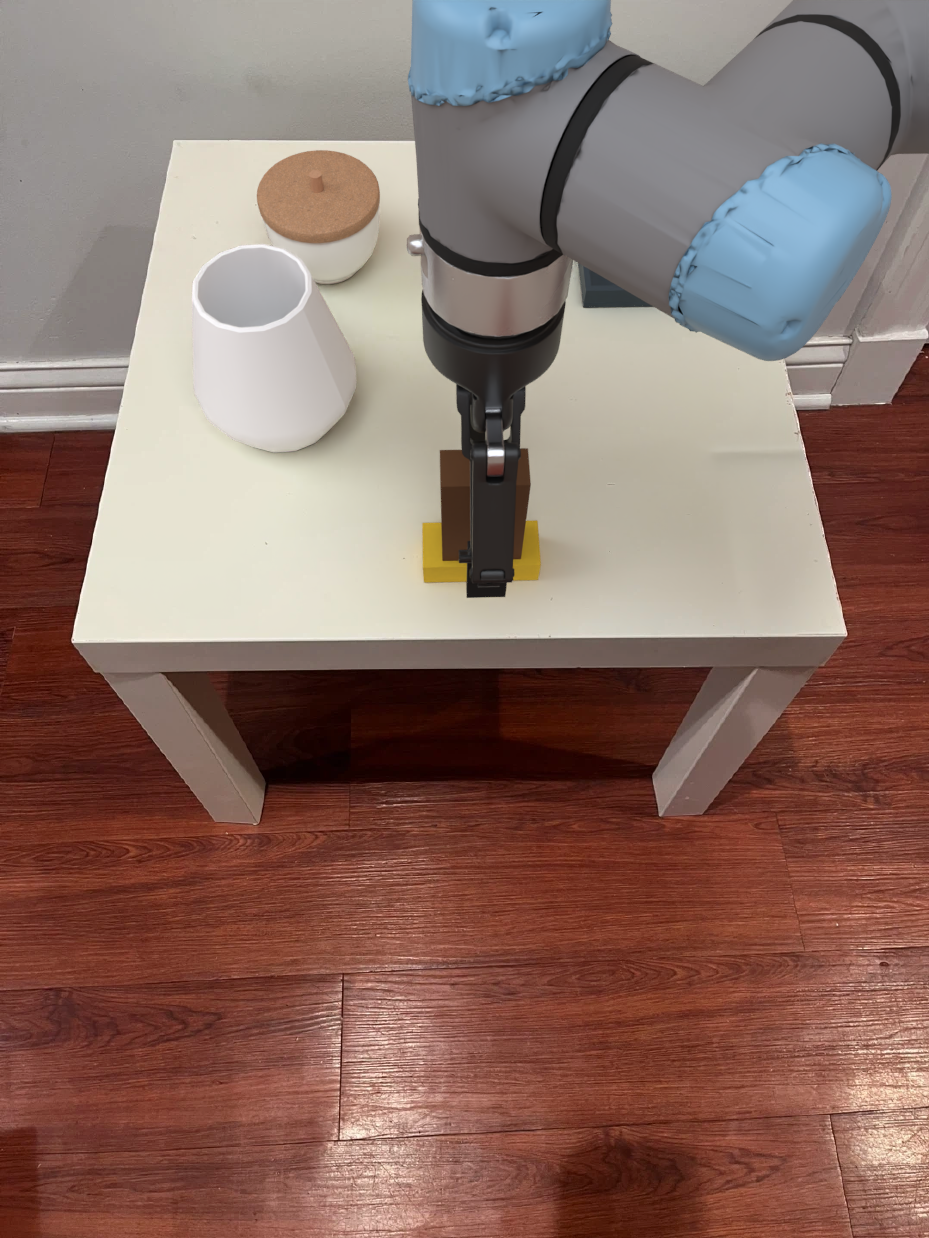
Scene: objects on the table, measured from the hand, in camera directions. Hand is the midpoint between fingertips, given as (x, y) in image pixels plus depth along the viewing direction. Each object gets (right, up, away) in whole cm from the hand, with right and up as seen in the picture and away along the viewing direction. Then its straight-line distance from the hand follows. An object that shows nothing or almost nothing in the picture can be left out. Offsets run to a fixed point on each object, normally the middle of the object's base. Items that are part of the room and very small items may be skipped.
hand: (482, 515), depth 66 cm
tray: (+16, +29, +21) cm, 39 cm away
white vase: (-17, +11, +12) cm, 23 cm away
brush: (0, -3, +6) cm, 6 cm away
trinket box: (-14, +26, +20) cm, 36 cm away
